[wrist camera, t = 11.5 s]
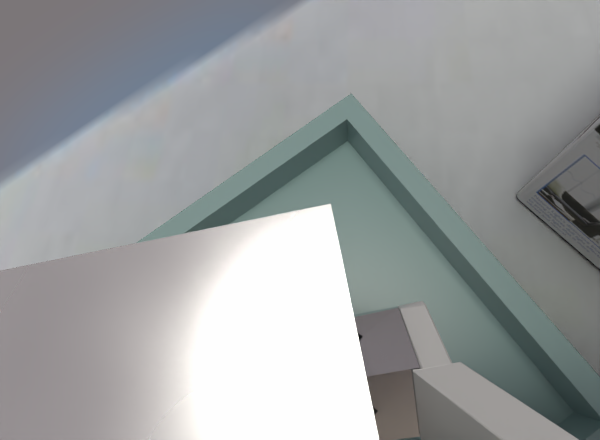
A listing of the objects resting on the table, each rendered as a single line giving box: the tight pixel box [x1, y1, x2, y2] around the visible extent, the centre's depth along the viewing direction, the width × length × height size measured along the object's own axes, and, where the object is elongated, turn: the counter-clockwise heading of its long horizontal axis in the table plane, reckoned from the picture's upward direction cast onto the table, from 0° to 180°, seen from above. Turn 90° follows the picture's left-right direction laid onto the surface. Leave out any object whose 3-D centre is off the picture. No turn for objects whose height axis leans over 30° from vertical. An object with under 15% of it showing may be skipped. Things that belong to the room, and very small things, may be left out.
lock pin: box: [0, 204, 379, 440], centre depth 9 cm, size 3×3×12 cm
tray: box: [137, 94, 600, 440], centre depth 15 cm, size 15×15×2 cm
